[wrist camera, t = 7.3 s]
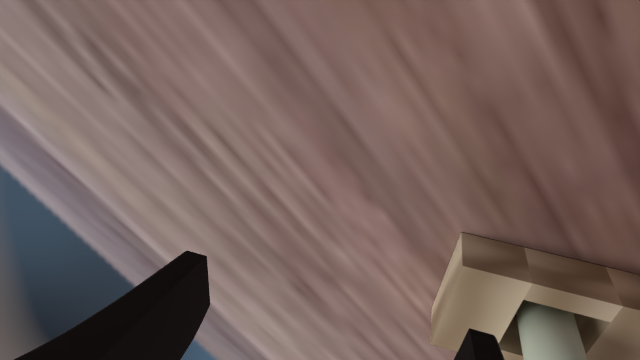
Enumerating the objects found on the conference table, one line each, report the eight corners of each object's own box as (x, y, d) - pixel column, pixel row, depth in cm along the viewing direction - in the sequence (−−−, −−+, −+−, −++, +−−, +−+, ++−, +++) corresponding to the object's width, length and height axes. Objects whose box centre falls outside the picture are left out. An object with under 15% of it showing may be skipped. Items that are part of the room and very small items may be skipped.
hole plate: (675, 283, 20) (701, 326, 18) (612, 357, 23) (628, 400, 21) (461, 232, 21) (462, 265, 19) (431, 308, 25) (430, 344, 22)
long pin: (568, 279, 21) (616, 428, 15) (567, 314, 22) (611, 466, 16) (512, 279, 22) (535, 419, 16) (514, 314, 23) (537, 456, 17)
